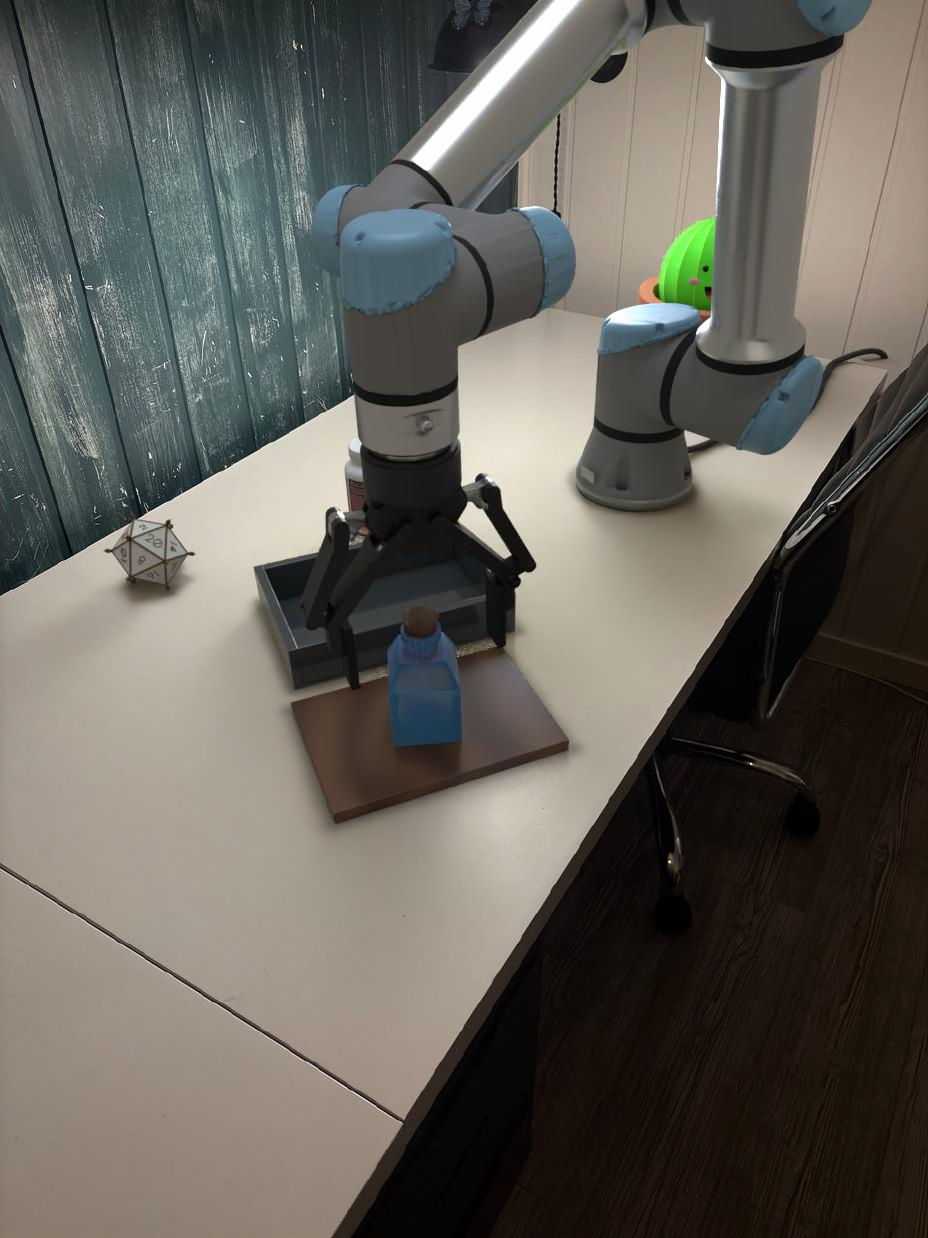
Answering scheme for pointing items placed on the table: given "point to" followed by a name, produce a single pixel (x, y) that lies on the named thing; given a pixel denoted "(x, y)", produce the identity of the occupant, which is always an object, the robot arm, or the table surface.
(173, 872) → the table surface
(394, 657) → the perfume bottle
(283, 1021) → the table surface
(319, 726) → the board
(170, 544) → the game die
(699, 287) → the potted cactus
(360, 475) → the pill bottle
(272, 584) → the tray
